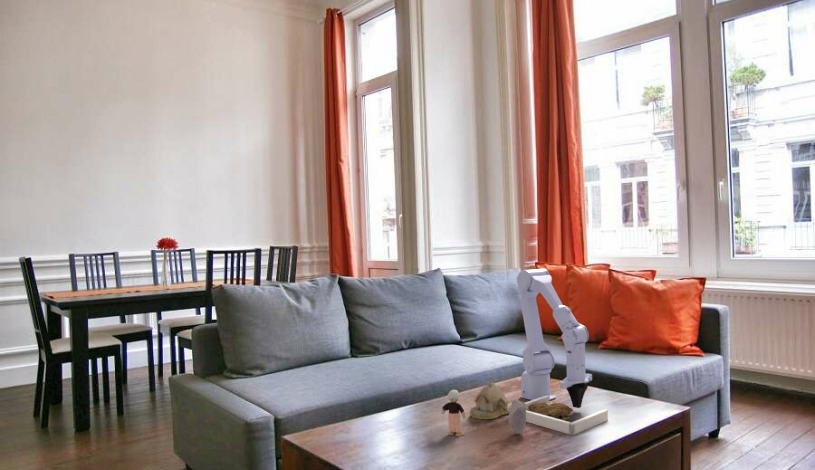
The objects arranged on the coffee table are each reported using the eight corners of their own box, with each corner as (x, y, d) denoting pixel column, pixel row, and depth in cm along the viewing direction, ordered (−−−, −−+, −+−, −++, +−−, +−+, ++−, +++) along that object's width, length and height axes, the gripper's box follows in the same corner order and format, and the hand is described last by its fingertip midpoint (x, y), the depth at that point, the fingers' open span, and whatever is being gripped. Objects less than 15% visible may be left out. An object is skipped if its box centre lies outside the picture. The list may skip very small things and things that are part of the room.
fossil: (512, 438, 167) (511, 402, 167) (504, 434, 170) (503, 399, 170) (528, 434, 170) (527, 399, 169) (521, 431, 173) (520, 396, 172)
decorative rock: (584, 422, 181) (552, 410, 194) (584, 408, 181) (552, 398, 194) (554, 426, 176) (523, 414, 189) (554, 412, 176) (523, 401, 189)
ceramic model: (484, 405, 199) (483, 375, 199) (515, 410, 193) (514, 379, 192) (464, 417, 187) (463, 385, 187) (496, 422, 181) (495, 389, 181)
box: (510, 417, 185) (510, 407, 185) (546, 404, 197) (546, 395, 197) (572, 435, 168) (572, 424, 168) (607, 420, 180) (607, 410, 180)
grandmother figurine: (468, 432, 172) (467, 389, 172) (465, 437, 169) (464, 392, 169) (443, 430, 175) (442, 387, 175) (439, 435, 171) (438, 390, 171)
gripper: (573, 370, 181) (574, 415, 181) (600, 362, 190) (600, 404, 191) (553, 366, 186) (554, 409, 187) (580, 358, 196) (581, 400, 196)
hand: (576, 407), depth 189 cm, fingers closed
